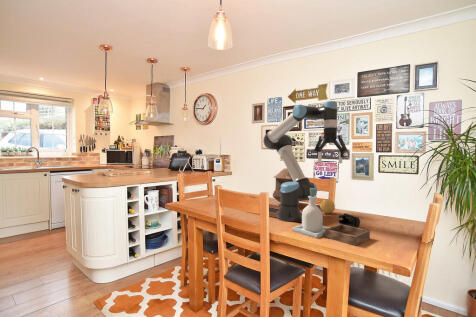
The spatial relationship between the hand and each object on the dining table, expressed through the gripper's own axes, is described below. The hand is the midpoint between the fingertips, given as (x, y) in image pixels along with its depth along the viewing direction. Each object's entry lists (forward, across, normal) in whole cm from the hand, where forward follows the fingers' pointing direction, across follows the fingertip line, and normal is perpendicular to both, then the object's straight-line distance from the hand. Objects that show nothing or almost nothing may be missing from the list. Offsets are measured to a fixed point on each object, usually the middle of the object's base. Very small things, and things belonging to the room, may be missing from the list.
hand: (329, 162), depth 152 cm
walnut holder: (+37, +20, -17) cm, 45 cm away
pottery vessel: (+37, -49, +22) cm, 65 cm away
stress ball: (+37, -14, +22) cm, 45 cm away
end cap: (+37, +11, +3) cm, 39 cm away
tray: (+37, +3, -22) cm, 43 cm away
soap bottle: (+36, +3, -22) cm, 42 cm away
